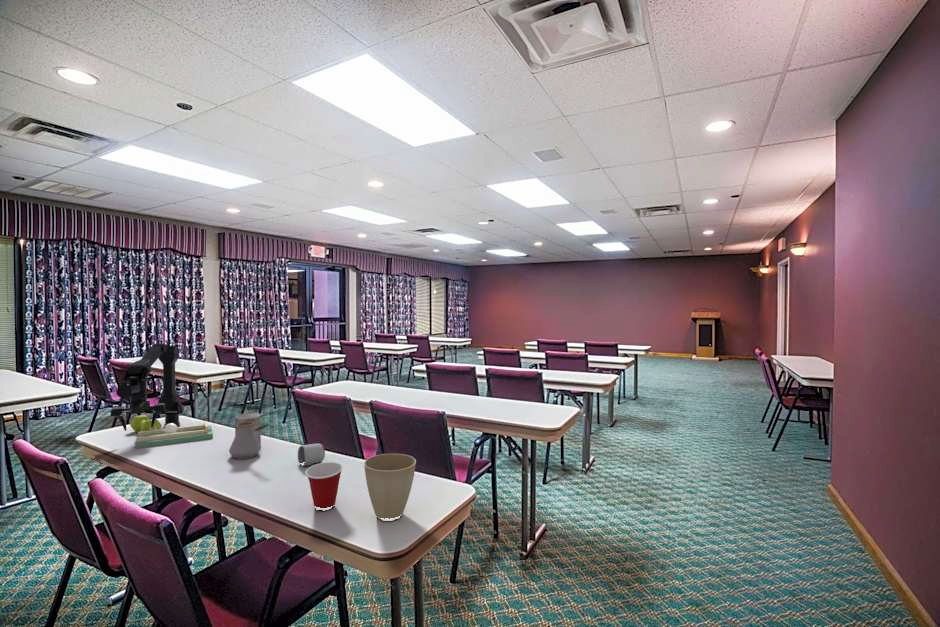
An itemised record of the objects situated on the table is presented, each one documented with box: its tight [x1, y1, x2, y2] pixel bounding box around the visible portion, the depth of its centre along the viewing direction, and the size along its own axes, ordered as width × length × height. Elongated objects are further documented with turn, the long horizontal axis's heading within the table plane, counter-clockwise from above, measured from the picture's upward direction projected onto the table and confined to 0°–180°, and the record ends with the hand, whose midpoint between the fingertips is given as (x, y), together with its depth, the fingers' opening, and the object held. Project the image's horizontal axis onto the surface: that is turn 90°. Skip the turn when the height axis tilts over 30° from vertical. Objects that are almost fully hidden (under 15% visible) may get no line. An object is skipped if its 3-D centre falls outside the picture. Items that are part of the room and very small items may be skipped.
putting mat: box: [135, 420, 214, 449], centre depth 202 cm, size 16×28×5 cm, turn 122°
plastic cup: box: [304, 461, 344, 508], centre depth 136 cm, size 11×11×12 cm
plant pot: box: [363, 453, 417, 519], centre depth 131 cm, size 15×15×16 cm
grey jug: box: [234, 412, 262, 446], centre depth 191 cm, size 10×10×15 cm
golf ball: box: [163, 423, 178, 434], centre depth 201 cm, size 5×5×5 cm
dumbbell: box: [129, 414, 162, 433], centre depth 210 cm, size 16×8×7 cm, turn 54°
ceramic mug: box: [297, 443, 326, 467], centre depth 174 cm, size 11×8×8 cm
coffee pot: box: [228, 422, 272, 460], centre depth 178 cm, size 21×12×15 cm, turn 58°
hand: (138, 429), depth 195 cm, fingers open, 9 cm apart
